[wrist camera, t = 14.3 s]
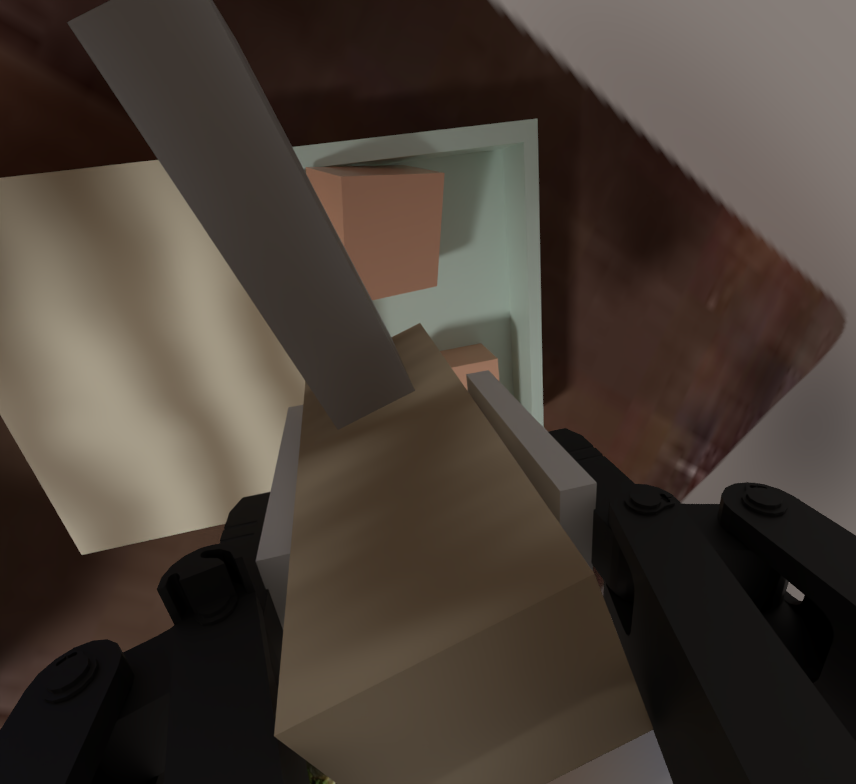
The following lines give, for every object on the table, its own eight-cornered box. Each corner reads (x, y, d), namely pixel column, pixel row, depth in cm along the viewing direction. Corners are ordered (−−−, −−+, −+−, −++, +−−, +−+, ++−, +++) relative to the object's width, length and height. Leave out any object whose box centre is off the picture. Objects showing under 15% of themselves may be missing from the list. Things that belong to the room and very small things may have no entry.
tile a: (503, 440, 30) (487, 418, 34) (497, 358, 28) (481, 343, 31) (418, 459, 30) (410, 434, 33) (404, 376, 27) (397, 359, 30)
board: (118, 504, 31) (81, 554, 27) (-38, 195, 23) (-129, 192, 19) (345, 456, 33) (347, 496, 29) (275, 158, 25) (262, 147, 21)
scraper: (451, 600, 19) (558, 951, 11) (118, 98, 10) (-1394, -517, 1) (532, 559, 19) (708, 875, 11) (275, 18, 10) (-79, -1203, 1)
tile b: (315, 285, 25) (347, 305, 23) (305, 167, 22) (341, 176, 19) (402, 270, 28) (437, 286, 26) (404, 164, 25) (444, 172, 23)
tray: (345, 456, 33) (346, 487, 30) (275, 158, 25) (265, 150, 22) (522, 420, 35) (543, 444, 31) (509, 130, 27) (537, 118, 23)
